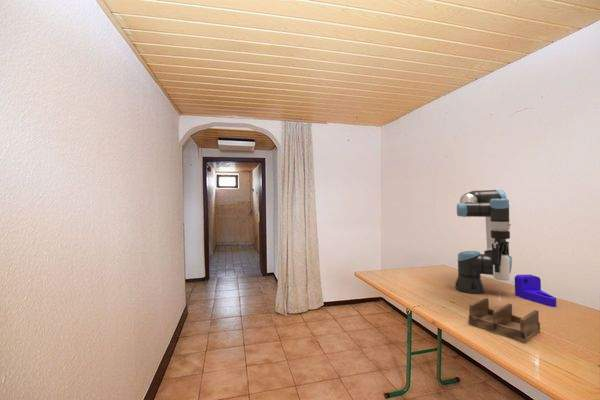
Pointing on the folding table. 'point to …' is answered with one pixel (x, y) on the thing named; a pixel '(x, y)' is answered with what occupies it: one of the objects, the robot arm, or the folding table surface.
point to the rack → (504, 321)
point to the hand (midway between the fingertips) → (501, 277)
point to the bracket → (532, 290)
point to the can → (504, 267)
